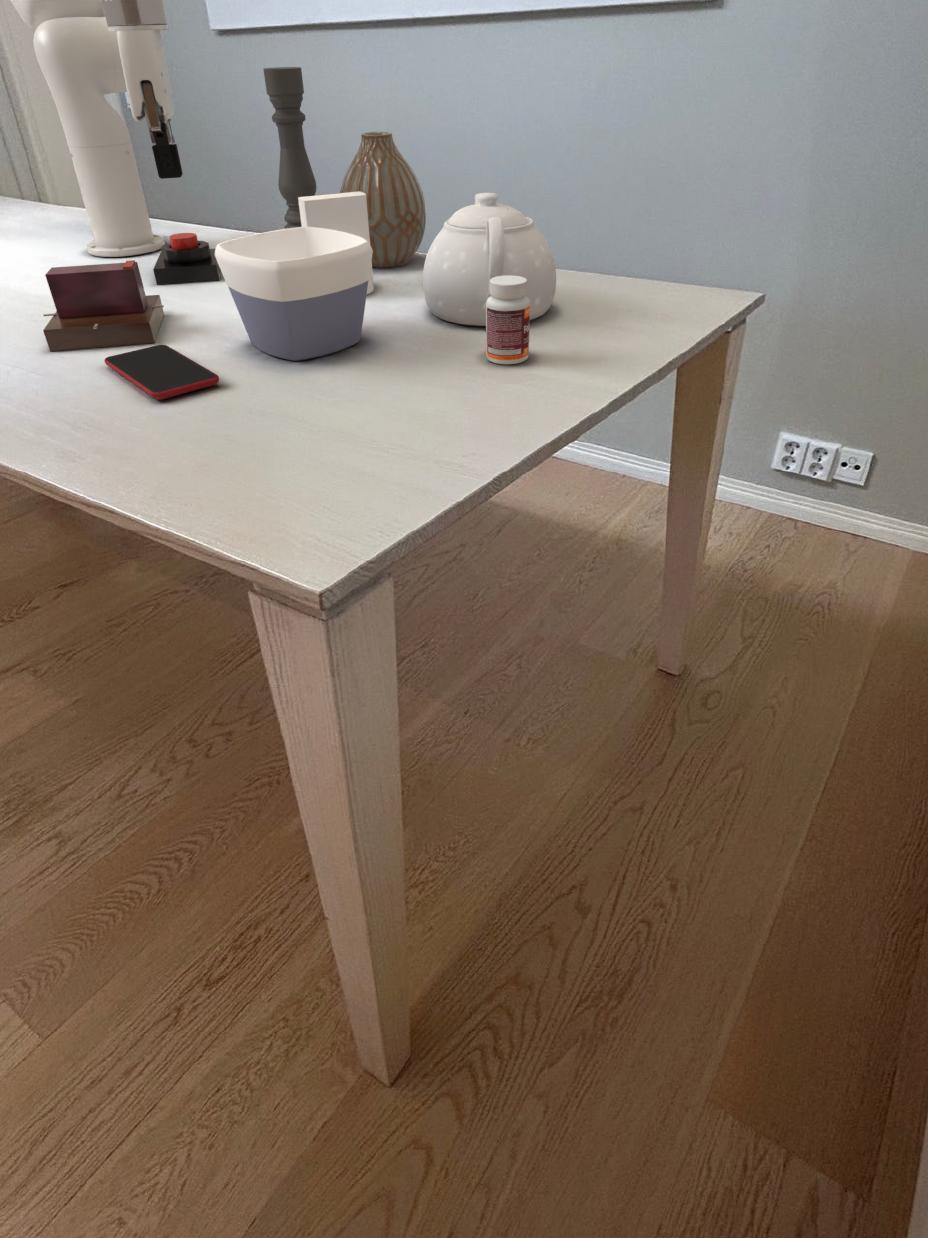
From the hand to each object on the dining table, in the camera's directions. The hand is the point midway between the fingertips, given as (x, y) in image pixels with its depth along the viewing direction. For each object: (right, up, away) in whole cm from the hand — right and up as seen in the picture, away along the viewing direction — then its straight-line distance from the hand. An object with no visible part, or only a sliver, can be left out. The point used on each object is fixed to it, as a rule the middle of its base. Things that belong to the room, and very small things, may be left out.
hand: (171, 176), depth 114 cm
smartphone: (+9, -37, -27) cm, 47 cm away
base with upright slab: (+25, -17, -1) cm, 30 cm away
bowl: (+23, -31, -19) cm, 43 cm away
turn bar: (-3, -25, -16) cm, 30 cm away
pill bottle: (+47, -34, -24) cm, 63 cm away
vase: (+30, -8, +11) cm, 33 cm away
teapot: (+45, -23, -10) cm, 52 cm away
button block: (0, -10, +8) cm, 13 cm away
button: (0, -7, +6) cm, 10 cm away
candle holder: (+15, -1, +20) cm, 25 cm away
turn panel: (-2, -27, -14) cm, 31 cm away
